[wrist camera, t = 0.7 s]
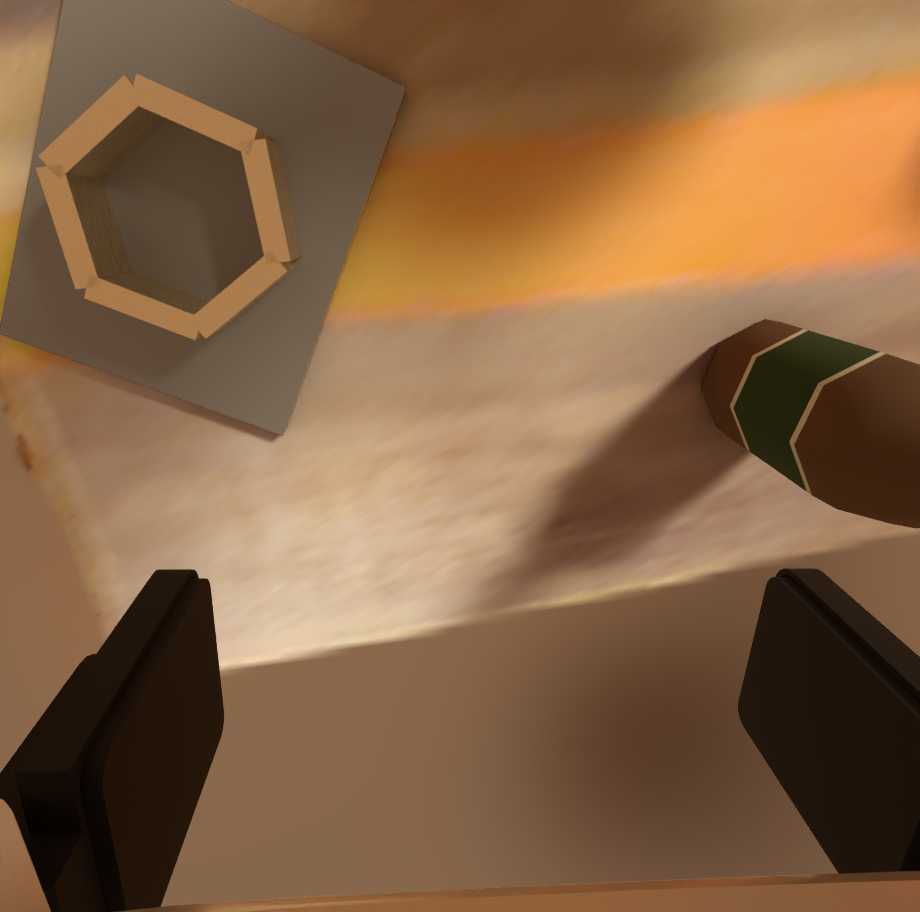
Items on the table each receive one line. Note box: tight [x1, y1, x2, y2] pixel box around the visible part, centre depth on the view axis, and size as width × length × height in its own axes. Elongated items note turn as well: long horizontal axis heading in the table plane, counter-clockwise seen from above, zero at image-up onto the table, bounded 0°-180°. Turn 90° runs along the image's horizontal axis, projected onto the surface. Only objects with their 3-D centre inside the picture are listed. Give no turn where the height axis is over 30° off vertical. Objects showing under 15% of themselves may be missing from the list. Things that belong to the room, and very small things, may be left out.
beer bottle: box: [701, 319, 920, 528], centre depth 30 cm, size 8×8×24 cm
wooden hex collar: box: [36, 74, 303, 340], centre depth 32 cm, size 10×12×4 cm
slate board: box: [0, 0, 406, 436], centre depth 35 cm, size 20×16×1 cm
